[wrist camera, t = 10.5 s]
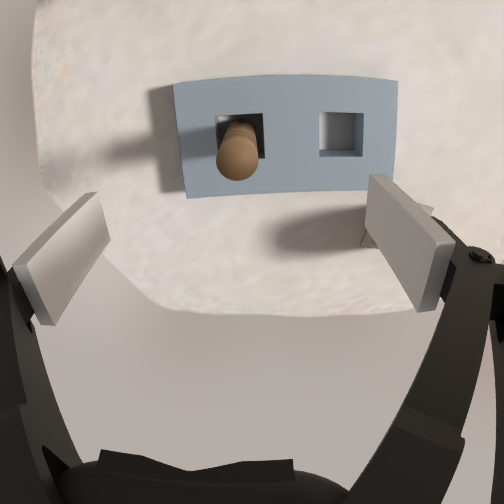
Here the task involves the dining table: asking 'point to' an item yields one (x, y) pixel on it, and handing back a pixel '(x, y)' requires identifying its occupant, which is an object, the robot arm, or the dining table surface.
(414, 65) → the dining table surface
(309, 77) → the hole block
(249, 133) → the peg
